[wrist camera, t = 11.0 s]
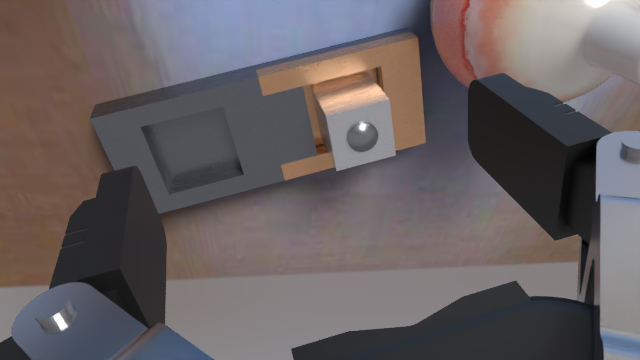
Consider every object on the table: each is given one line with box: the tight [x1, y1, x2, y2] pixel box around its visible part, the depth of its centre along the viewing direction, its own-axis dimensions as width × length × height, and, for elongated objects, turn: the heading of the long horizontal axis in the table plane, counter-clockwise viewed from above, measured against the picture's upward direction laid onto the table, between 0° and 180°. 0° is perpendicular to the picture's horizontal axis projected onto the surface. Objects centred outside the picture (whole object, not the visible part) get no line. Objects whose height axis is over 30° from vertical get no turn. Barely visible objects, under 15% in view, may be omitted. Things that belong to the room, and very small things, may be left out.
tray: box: [90, 28, 426, 214], centre depth 40 cm, size 24×9×2 cm, turn 101°
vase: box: [430, 0, 640, 102], centre depth 32 cm, size 14×14×18 cm
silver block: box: [311, 72, 396, 171], centre depth 38 cm, size 4×4×6 cm
